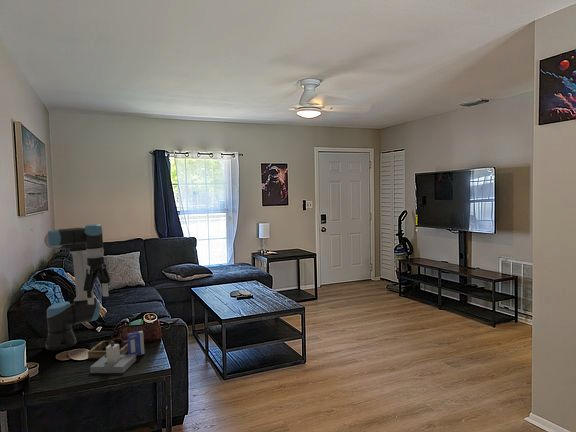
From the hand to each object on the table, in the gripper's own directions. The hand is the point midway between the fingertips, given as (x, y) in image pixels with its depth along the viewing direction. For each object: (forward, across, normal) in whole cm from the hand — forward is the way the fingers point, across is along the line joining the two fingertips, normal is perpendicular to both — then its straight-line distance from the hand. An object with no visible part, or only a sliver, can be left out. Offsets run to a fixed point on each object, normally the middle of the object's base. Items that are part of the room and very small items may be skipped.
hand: (98, 300), depth 205 cm
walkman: (+33, +13, -11) cm, 37 cm away
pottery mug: (+33, +18, +2) cm, 37 cm away
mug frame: (+33, +16, +4) cm, 37 cm away
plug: (+32, -1, -6) cm, 33 cm away
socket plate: (+33, -1, -6) cm, 33 cm away
